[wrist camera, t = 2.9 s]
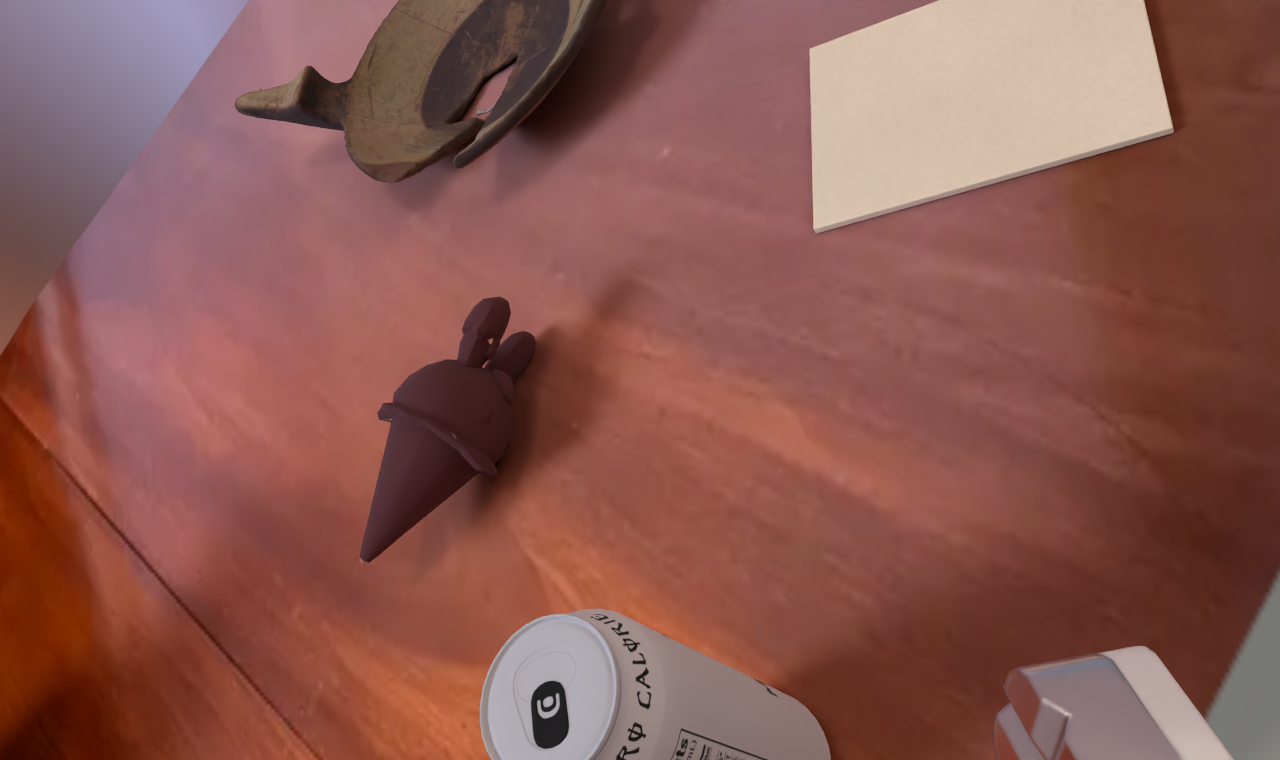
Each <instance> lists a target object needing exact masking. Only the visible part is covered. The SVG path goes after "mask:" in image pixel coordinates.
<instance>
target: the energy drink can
mask: <svg viewBox="0 0 1280 760" xmlns="http://www.w3.org/2000/svg"><path fill="white" fill-rule="evenodd" d="M480 726H481V732H482V738H483V741H484V744H485V747H486V750H487V752H488V754H489V756H490V757H491V759H492V760H831V757H830V751H829V746H828V743H827V740H826V737H825V734H824V732H823V730H822V728H821V726H820V725H819V723H818V721H817V720H816V718H815V717H814V716H813V715H812V713H811V712H810V711H809V710H808V709H807V708H806V707H805V706H804V705H803V704H801V703H800V702H799V701H797V700H796V699H795V698H793V697H791V696H789V695H787V694H785V693H782V692H780V691H778V690H776V689H774V688H772V687H770V686H768V685H766V684H764V683H762V682H760V681H758V680H756V679H754V678H751V677H749V676H747V675H745V674H743V673H741V672H739V671H737V670H735V669H733V668H731V667H729V666H727V665H725V664H723V663H721V662H718V661H716V660H714V659H712V658H710V657H708V656H706V655H704V654H702V653H700V652H698V651H696V650H694V649H692V648H690V647H688V646H685V645H683V644H681V643H679V642H677V641H675V640H673V639H671V638H669V637H667V636H665V635H663V634H661V633H659V632H657V631H654V630H652V629H650V628H648V627H646V626H644V625H642V624H640V623H638V622H636V621H634V620H632V619H630V618H628V617H625V616H623V615H621V614H619V613H617V612H615V611H610V610H604V609H583V610H580V611H576V612H572V613H569V614H551V615H548V616H544V617H540V618H537V619H536V620H534V621H532V622H530V623H528V624H526V625H525V626H523V627H522V628H521V629H519V630H518V631H517V632H516V633H514V634H513V635H512V636H511V637H510V639H509V640H508V641H507V642H506V643H505V644H504V645H503V647H502V648H501V650H500V651H499V653H498V654H497V656H496V657H495V659H494V661H493V663H492V665H491V667H490V669H489V671H488V673H487V677H486V680H485V683H484V686H483V690H482V696H481V702H480Z"/></svg>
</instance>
